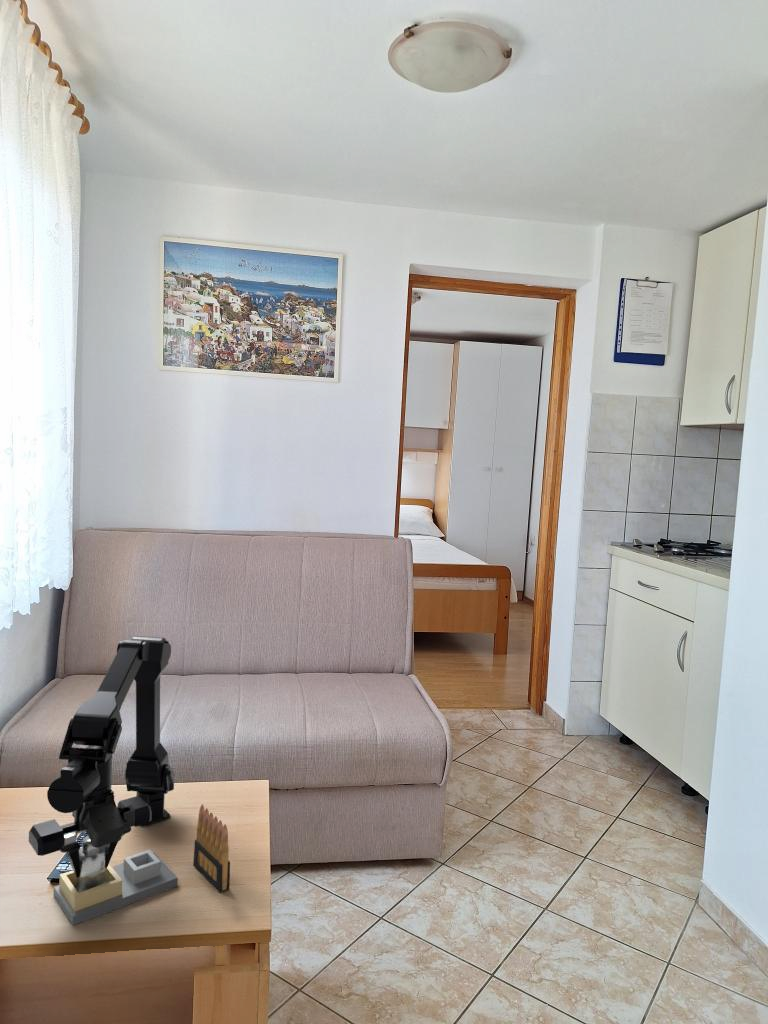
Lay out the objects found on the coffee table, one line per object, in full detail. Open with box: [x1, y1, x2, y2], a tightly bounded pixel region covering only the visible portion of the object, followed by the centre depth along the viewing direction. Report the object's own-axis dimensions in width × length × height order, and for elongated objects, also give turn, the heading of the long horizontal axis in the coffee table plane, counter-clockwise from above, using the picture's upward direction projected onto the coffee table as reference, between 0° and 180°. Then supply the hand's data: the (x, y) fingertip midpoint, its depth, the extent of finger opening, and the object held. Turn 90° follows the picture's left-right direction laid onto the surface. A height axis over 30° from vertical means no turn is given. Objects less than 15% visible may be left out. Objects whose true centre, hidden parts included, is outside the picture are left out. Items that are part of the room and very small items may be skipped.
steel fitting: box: [77, 835, 106, 891], centre depth 120 cm, size 4×4×8 cm
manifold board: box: [53, 849, 179, 926], centre depth 123 cm, size 10×18×4 cm, turn 131°
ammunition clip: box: [192, 804, 231, 894], centre depth 128 cm, size 11×2×12 cm, turn 41°
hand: (91, 871), depth 120 cm, fingers closed on steel fitting, 4 cm apart
